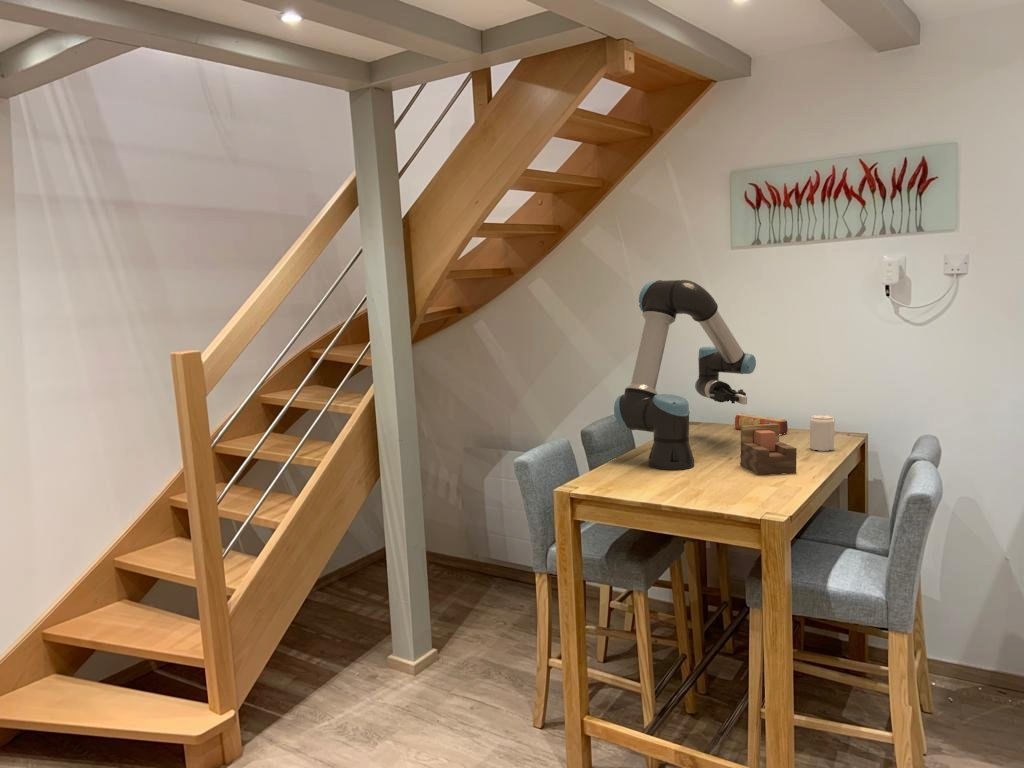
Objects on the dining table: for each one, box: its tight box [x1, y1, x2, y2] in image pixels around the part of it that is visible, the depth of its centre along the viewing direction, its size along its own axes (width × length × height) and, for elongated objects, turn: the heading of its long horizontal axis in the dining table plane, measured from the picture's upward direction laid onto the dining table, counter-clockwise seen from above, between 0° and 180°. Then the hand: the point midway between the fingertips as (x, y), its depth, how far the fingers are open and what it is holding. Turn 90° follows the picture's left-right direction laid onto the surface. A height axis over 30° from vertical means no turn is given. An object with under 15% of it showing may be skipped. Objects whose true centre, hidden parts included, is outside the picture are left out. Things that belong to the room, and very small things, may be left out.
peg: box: [753, 429, 775, 451], centre depth 266 cm, size 14×5×6 cm, turn 8°
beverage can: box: [809, 414, 836, 452], centre depth 287 cm, size 8×8×12 cm
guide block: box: [740, 424, 798, 476], centre depth 260 cm, size 14×12×14 cm
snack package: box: [734, 412, 788, 435], centre depth 324 cm, size 21×7×7 cm, turn 40°
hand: (745, 400), depth 277 cm, fingers closed
